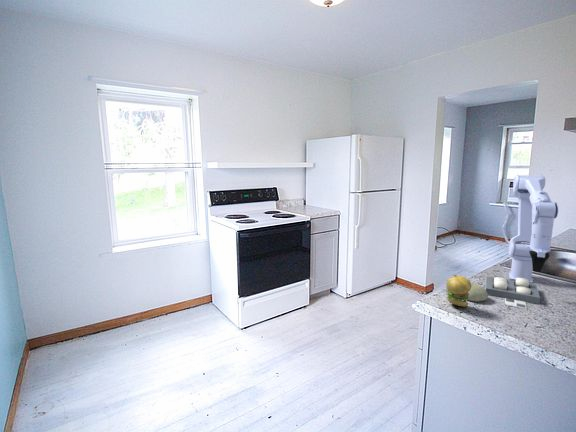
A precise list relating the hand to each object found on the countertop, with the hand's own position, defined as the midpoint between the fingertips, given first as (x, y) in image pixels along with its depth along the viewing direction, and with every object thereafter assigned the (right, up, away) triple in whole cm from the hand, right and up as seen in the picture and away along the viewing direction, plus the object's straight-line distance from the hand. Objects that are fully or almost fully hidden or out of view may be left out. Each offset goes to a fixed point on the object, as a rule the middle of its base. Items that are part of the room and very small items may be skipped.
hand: (536, 271), depth 115 cm
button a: (-7, -8, +10) cm, 14 cm away
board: (-6, -9, +5) cm, 12 cm away
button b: (-11, -8, +4) cm, 14 cm away
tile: (-12, -11, -5) cm, 16 cm away
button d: (-5, -9, 0) cm, 11 cm away
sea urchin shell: (-24, -10, +1) cm, 26 cm away
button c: (-1, -7, +6) cm, 9 cm away
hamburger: (-33, -11, -6) cm, 35 cm away
